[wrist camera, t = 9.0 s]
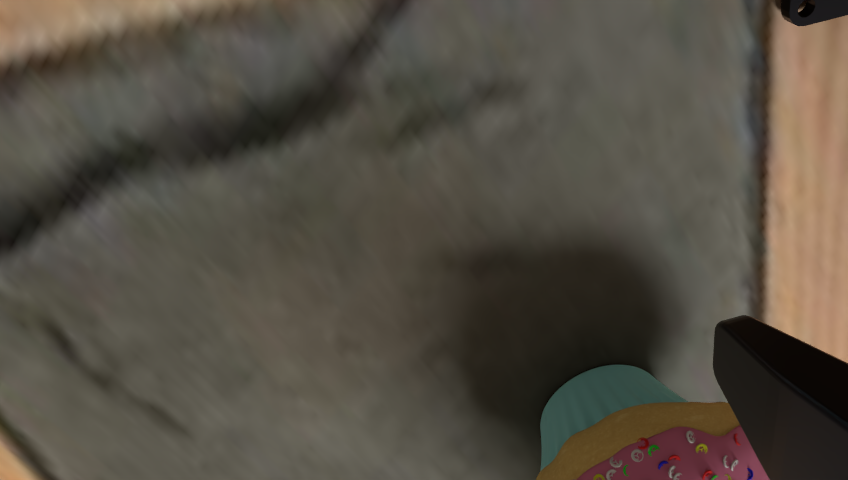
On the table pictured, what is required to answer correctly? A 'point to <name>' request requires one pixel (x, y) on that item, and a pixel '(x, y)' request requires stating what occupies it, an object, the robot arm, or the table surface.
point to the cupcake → (639, 432)
